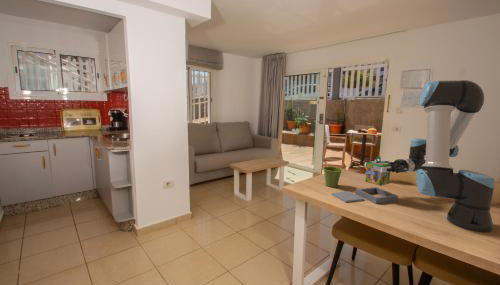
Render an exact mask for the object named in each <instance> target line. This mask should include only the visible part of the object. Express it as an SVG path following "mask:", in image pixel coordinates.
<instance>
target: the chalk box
mask: <svg viewBox="0 0 500 285" xmlns="http://www.w3.org/2000/svg"><path fill="white" fill-rule="evenodd" d="M377 159H379V161H378V160H377ZM375 160H376V161H375ZM375 160H371V161H367V162H366V163H367V167H366V170H365V183H369V184H374V185H377V186H380V187H382V186H385V185H389V184H390V178H391V177H390V176H391V172H383V173H381V167H391V164H389V163H385V162H381V155H379V156H376V157H375Z"/></svg>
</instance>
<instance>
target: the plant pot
mask: <svg viewBox="0 0 500 285" xmlns="http://www.w3.org/2000/svg"><path fill="white" fill-rule="evenodd" d="M322 169H323V172H324V182H325V186H327V187H331V188H337V187H338V185H339V180H340V177H341V175H342V172H343V169H342V168H340V167H336V166H324V167H322Z"/></svg>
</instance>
